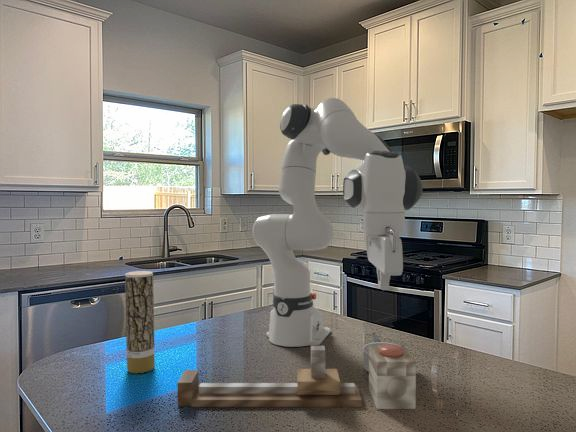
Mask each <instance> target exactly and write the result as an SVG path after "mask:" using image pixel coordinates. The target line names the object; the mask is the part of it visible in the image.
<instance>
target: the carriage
mask: <svg viewBox="0 0 576 432" xmlns="http://www.w3.org/2000/svg"><path fill="white" fill-rule="evenodd" d="M296 375H297V376H296V378H297V379H296V381H297V382H296V383H297V385H298V395H340V383H341V380H340V375H339V371H338V369H337V368H326V348H325V345H310V368H297V369H296Z"/></svg>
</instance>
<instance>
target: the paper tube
mask: <svg viewBox="0 0 576 432" xmlns="http://www.w3.org/2000/svg"><path fill="white" fill-rule="evenodd" d="M124 278H125V279H124V280H125V281H124V282H125V283H124V287H125V293H124V294H125V327H126V328H125V330H126V331H125V332H126V333H125V334H126V335H125V337H126V339H125V340H126V342H125V343H126V369H127V372H128V373H131V374H138V373H140V374H145V373H144V372H146V373H149V372H151V371H153V369H154V368H155V363H156V362H155V361H156V360H155V303H154V300H155V299H154V295H155V294H154V271H149V270H136V271H129V272H126V273H125V276H124ZM148 371H149V372H148Z"/></svg>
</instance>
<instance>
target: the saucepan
mask: <svg viewBox="0 0 576 432" xmlns="http://www.w3.org/2000/svg"><path fill="white" fill-rule="evenodd" d="M370 334H371V337H372V339H373V340H374V342H370V343H367V344H364V345H363V346H362V347H361V350H362V352H363V353H362V355H363V357H362V360H363V361H362V363H363V364H362V365H363V368H364V370H365V371H366V372H367V373H369V346H380V345H383V344H395V345H399V346H402V345H401V344H396V343H392V342H386V341H385V342H384V341H383V342H381V339H380V337H378V335H377V333H376V332H371V333H370ZM407 351H408V352H409V350H408V349H407Z"/></svg>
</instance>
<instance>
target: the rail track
mask: <svg viewBox="0 0 576 432" xmlns="http://www.w3.org/2000/svg"><path fill="white" fill-rule="evenodd" d="M401 347H403V349H404V354H403V356H401V357H396V358H392V357H384V356H382V355H380V354H379V346H369V372H368V390H369V392H370V395H371V397H372V400H373V402H374V404H375V407H376V409H377V410H416V409H417V408H416V399H417V398H416V394H417V393H416V392H417V388H416V387H417V384H416V383H417V382H416V381H417V361H416V359H414V357H413V355H411V353H410V352H409V350H408V348H406V346H404V345H401ZM407 350H408V351H407ZM199 373H200V372H199V369H184V371H183V373H182V374H181V376H180V378H179V380H178V381H177V383H176V384H177V387H176V388H177V406H179V407H182V406H183V407H187V406H188V407H191V408H206V407H207V408H213V407H214V408H261V407H262V408H296V407H297V408H298V407H299V408H307V407H308V408H309V407H310V408H335V407H336V408H362V407H363V399H362V396H361V393H360V390H359V387H358V385H357V383H355V382H340V395H298V385H297V382H201V383H199V382H200V381H199V380H200V379H199V377H200V376H199Z"/></svg>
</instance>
